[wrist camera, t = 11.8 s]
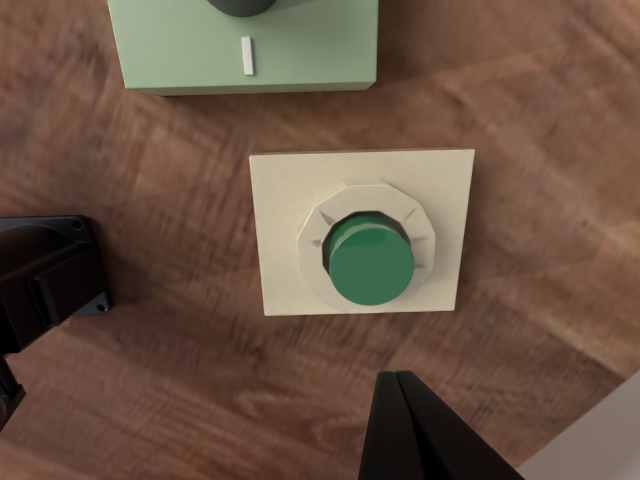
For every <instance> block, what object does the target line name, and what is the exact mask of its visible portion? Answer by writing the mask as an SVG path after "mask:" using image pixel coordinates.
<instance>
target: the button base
mask: <svg viewBox="0 0 640 480" xmlns="http://www.w3.org/2000/svg"><path fill="white" fill-rule="evenodd" d="M474 155H475V150H474V149H467V148H458V147H434V148H398V149H363V150H327V151H291V152H259V153H256V154H253V155H251V156H249V161H250V171H251V181H252V192H253V202H254V212H255V222H256V233H257V243H258V253H259V263H260V273H261V284H262V294H263V304H264V314H265V316H276V315H312V314H348V313H349V314H358V313H384V312H420V311H453V310H454V308H455V300H456V292H457V285H458V277H459V269H460V262H461V254H462V246H463V239H464V231H465V223H466V216H467V208H468V201H469V193H470V185H471V178H472V170H473V162H474ZM364 215H371V216H377V217H380V218H383V219H385V220H386V221H388V222H390V223H391V224H392V225H393V226H394V227H395V228H396V229H397V231H398V232H399V233H400V234H401V236H402V237H403V238H404V239H405V241H406V242H407V243H408V245H409V246H410V248H411V250H412V252H413V256H414V262H415V267H414V273H413V276H412V279H411V281H410V283H409V285H408V286H407V288H406V289H405V290H404V291H403V292H402V293H401V294H400V295H399V296H397V297H396V298H395V299H393V300H391V301H389V302H387V303H384V304H380V305H373V306H366V305H360V304H356V303H353V302H351V301H349V300H347V299H346V298H344V297H343V296H342V295H341V294H340V293H339V292H338V291H337V290H336V289H335V287H334V285H333V283H332V281H331V277H330V271H329V260H328V246H329V242H330V239H331V237H332V235H333V233H334V232H335V231H336V229H337V228H338V227H339V226H340V225H341V224H343V223H344V222H346V221H347V220H349V219H351V218H354V217H358V216H364Z"/></svg>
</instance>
